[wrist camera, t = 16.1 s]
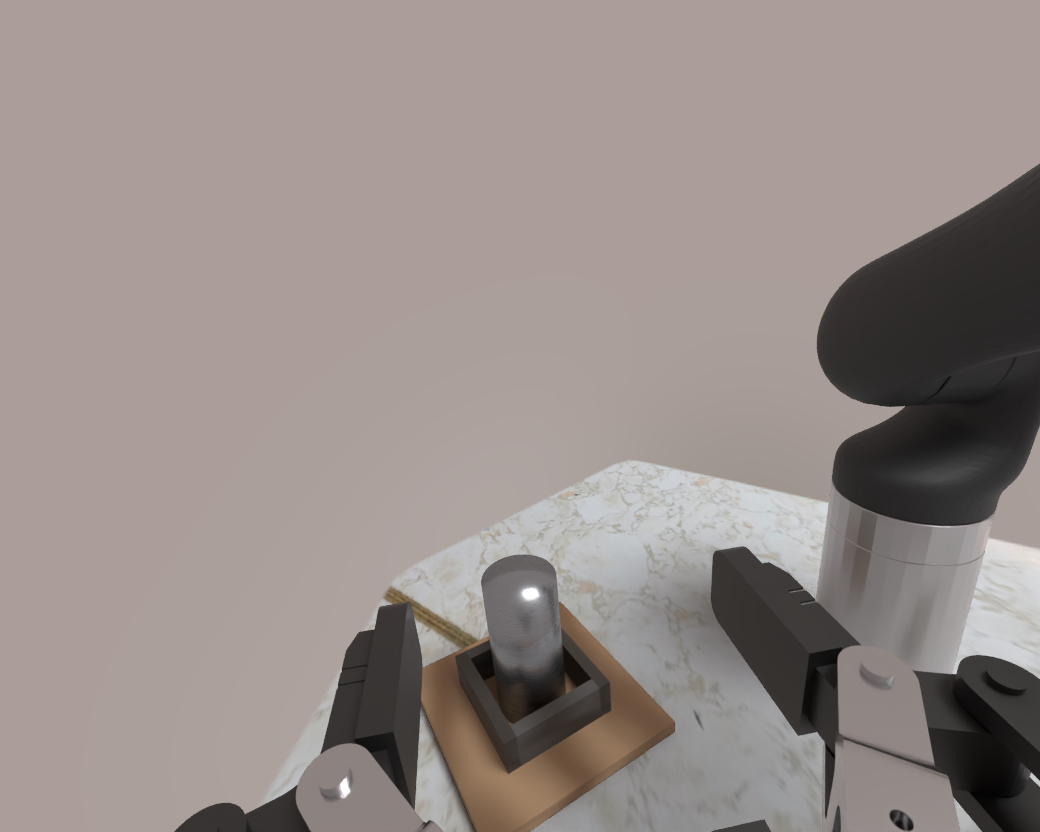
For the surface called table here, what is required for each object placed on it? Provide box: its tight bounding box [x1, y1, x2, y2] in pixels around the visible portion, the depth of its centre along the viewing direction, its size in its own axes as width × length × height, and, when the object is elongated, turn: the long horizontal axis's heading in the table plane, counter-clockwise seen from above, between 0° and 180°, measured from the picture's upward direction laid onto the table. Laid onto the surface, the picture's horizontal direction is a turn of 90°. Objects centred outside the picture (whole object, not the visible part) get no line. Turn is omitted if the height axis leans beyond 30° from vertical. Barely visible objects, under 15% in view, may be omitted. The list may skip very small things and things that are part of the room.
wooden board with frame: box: [421, 602, 675, 832], centre depth 41 cm, size 16×16×4 cm
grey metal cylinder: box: [481, 555, 566, 724], centre depth 39 cm, size 6×6×12 cm
